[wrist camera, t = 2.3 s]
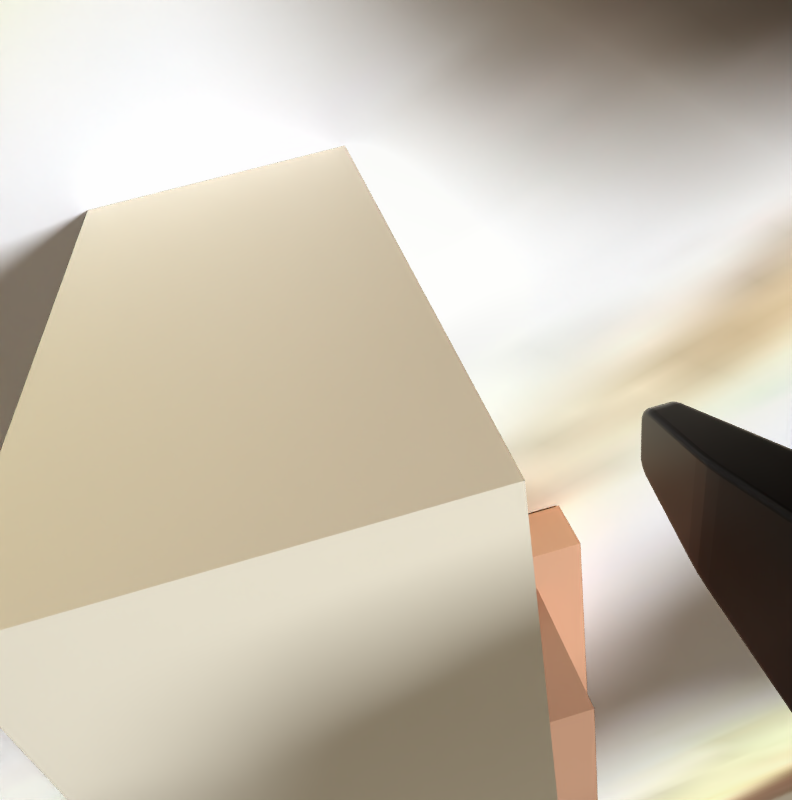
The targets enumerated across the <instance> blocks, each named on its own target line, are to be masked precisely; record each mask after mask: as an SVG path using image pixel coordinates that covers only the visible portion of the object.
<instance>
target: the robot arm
mask: <svg viewBox="0 0 792 800" xmlns="http://www.w3.org/2000/svg"><path fill="white" fill-rule="evenodd" d="M641 461H642V466H643V469H644V472H645V475H646V477H647V479H648V480H649V482H650V484H651V486H652V488H653V490H654V492H655V494H656V496H657V498H658V500H659V501H660V503H661V505H662V507H663V509H664V511H665V513H666V515H667V517H668V519H669V521H670V523H671V524H672V526H673V528H674V530H675V532H676V534H677V536H678V538H679V540H680V542H681V544H682V545H683V547H684V549H685V551H686V553H687V555H688V557H689V559H690V560H691V562H692V564H693V566H694V568H695V569H696V571H697V573H698V574H699V576H700V578H701V579H702V581H703V582H704V584H705V585H706V587H707V589H708V590H709V591H710V593H711V594H712V596H713V597H714V599H715V600H716V602H717V603H718V605H719V606H720V608H721V609H722V611H723V612H724V613H725V615H726V616H727V618H728V619H729V621H730V622H731V624H732V625H733V627H734V628H735V630H736V631H737V633H738V634H739V636H740V637H741V638H742V640H743V641H744V643H745V644H746V646H747V647H748V649H749V650H750V652H751V653H752V655H753V656H754V658H755V659H756V661H757V662H758V663H759V665H760V666H761V668H762V669H763V671H764V672H765V674H766V675H767V677H768V678H769V680H770V681H771V683H772V684H773V686H774V687H775V688H776V690H777V691H778V693H779V694H780V696H781V697H782V699H783V700H784V702H785V703H786V705H787V706H788V708H789V709H790V711H791V712H792V449H790V448H787V447H785V446H782V445H780V444H778V443H775V442H773V441H770V440H768V439H766V438H763V437H761V436H758V435H756V434H754V433H751V432H749V431H746V430H744V429H742V428H739V427H737V426H734V425H732V424H730V423H727V422H725V421H722V420H720V419H718V418H715V417H713V416H710V415H708V414H706V413H703V412H701V411H698V410H696V409H694V408H691V407H689V406H686V405H684V404H682V403H678V402H669V403H665V404H662V405H658V406H655V407H651V408H648V409H647V410H645V411H644V413H643V416H642V431H641Z"/></svg>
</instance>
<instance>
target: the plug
mask: <svg viewBox="0 0 792 800" xmlns="http://www.w3.org/2000/svg"><path fill="white" fill-rule="evenodd" d="M0 728H1V729H2V730H3V731H4V732H5V733H6V734H7V736H8V737H9V738H10V739H11V740H12V741H13V742H14V743H15V744H16V745H17V746H18V747H19V748H20V749H21V751H22V752H23V753H24V754H25V755H26V756H27V757H28V758H29V759H30V760H31V761H32V762H33V763H34V764H35V765H36V767H37V768H38V769H39V770H40V771H41V772H42V773H43V774H44V775H45V776H46V777H47V778H48V779H49V780H50V782H51V783H52V784H53V785H54V786H55V787H56V788H57V789H58V790H59V791H60V792H61V793H62V794H63V795H64V796H65V798H66V799H67V800H558V798H557V788H556V779H555V769H554V759H553V750H552V740H551V730H550V720H549V711H548V701H547V691H546V681H545V672H544V662H543V652H542V642H541V633H540V623H539V613H538V604H537V594H536V584H535V574H534V565H533V555H532V545H531V535H530V526H529V516H528V506H527V497H526V487H525V480H524V478H523V476H522V474H521V472H520V471H519V469H518V467H517V465H516V463H515V461H514V459H513V458H512V456H511V454H510V452H509V450H508V448H507V446H506V445H505V443H504V441H503V439H502V437H501V435H500V433H499V431H498V430H497V428H496V426H495V424H494V422H493V420H492V418H491V417H490V415H489V413H488V411H487V409H486V407H485V405H484V404H483V402H482V400H481V398H480V396H479V394H478V392H477V391H476V389H475V387H474V385H473V383H472V381H471V379H470V378H469V376H468V374H467V372H466V370H465V368H464V366H463V364H462V363H461V361H460V359H459V357H458V355H457V353H456V351H455V350H454V348H453V346H452V344H451V342H450V340H449V338H448V337H447V335H446V333H445V331H444V329H443V327H442V325H441V324H440V322H439V320H438V318H437V316H436V314H435V312H434V310H433V309H432V307H431V305H430V303H429V301H428V299H427V297H426V296H425V294H424V292H423V290H422V288H421V286H420V284H419V283H418V281H417V279H416V277H415V275H414V273H413V271H412V270H411V268H410V266H409V264H408V262H407V260H406V258H405V257H404V255H403V253H402V251H401V249H400V247H399V245H398V243H397V242H396V240H395V238H394V236H393V234H392V232H391V230H390V229H389V227H388V225H387V223H386V221H385V219H384V217H383V216H382V214H381V212H380V210H379V208H378V206H377V204H376V203H375V201H374V199H373V197H372V195H371V193H370V191H369V190H368V188H367V186H366V184H365V182H364V180H363V178H362V176H361V175H360V173H359V171H358V169H357V167H356V165H355V163H354V162H353V160H352V158H351V156H350V154H349V152H348V150H347V149H346V147H345V146H341V147H337V148H333V149H329V150H325V151H321V152H317V153H313V154H309V155H305V156H301V157H297V158H293V159H289V160H285V161H281V162H277V163H274V164H270V165H266V166H262V167H258V168H254V169H250V170H246V171H242V172H238V173H234V174H230V175H226V176H222V177H218V178H214V179H210V180H206V181H202V182H198V183H194V184H190V185H186V186H182V187H178V188H174V189H170V190H166V191H162V192H158V193H154V194H150V195H146V196H142V197H138V198H134V199H130V200H126V201H122V202H118V203H114V204H110V205H106V206H102V207H98V208H94V209H91V210H88V211H87V214H86V217H85V219H84V222H83V225H82V228H81V230H80V233H79V236H78V239H77V241H76V244H75V247H74V250H73V253H72V255H71V258H70V261H69V264H68V266H67V269H66V272H65V275H64V277H63V280H62V283H61V286H60V288H59V291H58V294H57V297H56V299H55V302H54V305H53V308H52V310H51V313H50V316H49V319H48V321H47V324H46V327H45V330H44V333H43V335H42V338H41V341H40V344H39V346H38V349H37V352H36V355H35V357H34V360H33V363H32V366H31V368H30V371H29V374H28V377H27V379H26V382H25V385H24V388H23V390H22V393H21V396H20V399H19V401H18V404H17V407H16V410H15V413H14V415H13V418H12V421H11V424H10V426H9V429H8V432H7V435H6V437H5V440H4V443H3V446H2V448H1V451H0Z"/></svg>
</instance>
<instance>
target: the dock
mask: <svg viewBox="0 0 792 800" xmlns="http://www.w3.org/2000/svg"><path fill="white" fill-rule="evenodd" d="M528 516H529V526H530V535H531V545H532V555H533V565H534V574H535V584H536V594H537V604H538V613H539V623H540V633H541V642H542V652H543V662H544V672H545V681H546V691H547V701H548V711H549V720H550V730H551V740H552V750H553V759H554V769H555V779H556V788H557V798H558V800H598V799H597V771H596V743H595V716H594V707H593V705H592V703H591V701H590V699H589V697H588V695H587V678H586V657H585V635H584V613H583V591H582V569H581V547H580V542H579V540H578V538H577V537H576V535H575V533H574V531H573V530H572V528H571V526H570V524H569V523H568V521H567V519H566V517H565V516H564V514H563V512H562V510H561V509H560V507H559V506H556V507H553V508H549V509H546V510H543V511H539V512H536V513H532V514H529V515H528Z"/></svg>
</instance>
